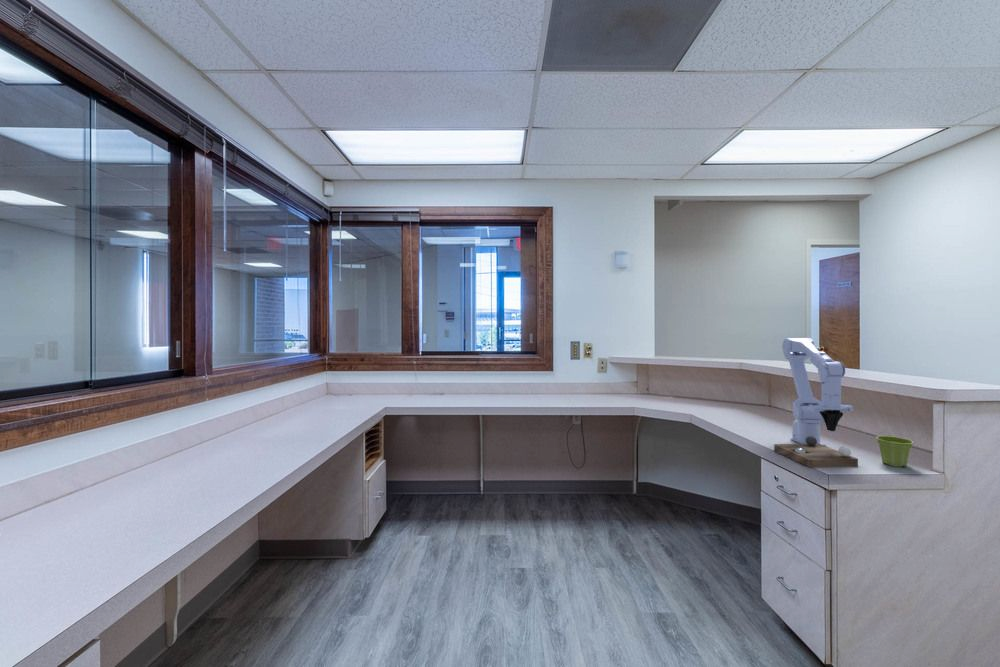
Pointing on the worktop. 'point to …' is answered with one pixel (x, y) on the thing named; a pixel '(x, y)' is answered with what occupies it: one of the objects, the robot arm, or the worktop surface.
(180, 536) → the worktop surface
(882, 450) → the plant pot
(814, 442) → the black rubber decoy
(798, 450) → the steel ball
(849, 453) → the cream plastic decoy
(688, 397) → the worktop surface
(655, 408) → the worktop surface
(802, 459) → the board
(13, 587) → the worktop surface
